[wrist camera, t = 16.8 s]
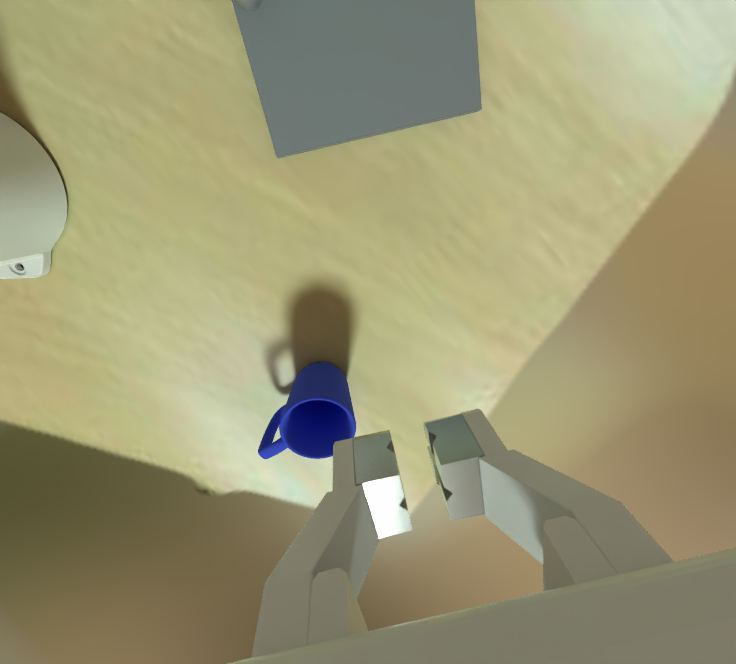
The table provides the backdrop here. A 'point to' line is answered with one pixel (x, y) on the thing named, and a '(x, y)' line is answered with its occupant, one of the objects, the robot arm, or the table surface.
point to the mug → (312, 415)
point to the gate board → (358, 66)
